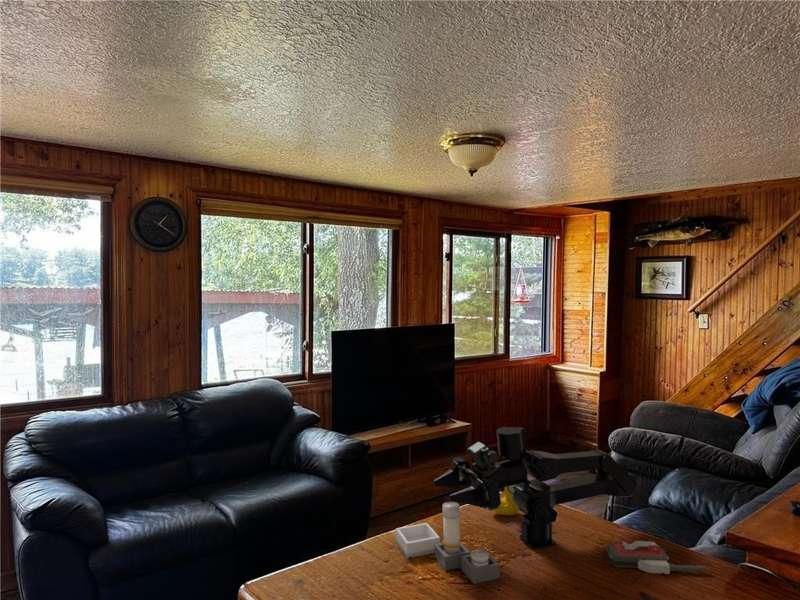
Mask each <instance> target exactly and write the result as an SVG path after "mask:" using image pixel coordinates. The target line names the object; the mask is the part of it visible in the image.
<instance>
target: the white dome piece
mask: <svg viewBox="0 0 800 600" xmlns="http://www.w3.org/2000/svg"><path fill="white" fill-rule="evenodd" d="M470 554H471V560H472V565H473V566H474V567H475V568H476V567H481V566H485V565H488V561H489V555H490V554H489V552H488V551H486V550H485V549H480V548H479V549H473V550H472V551H470Z"/></svg>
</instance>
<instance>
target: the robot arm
mask: <svg viewBox="0 0 800 600" xmlns="http://www.w3.org/2000/svg"><path fill="white" fill-rule="evenodd" d="M526 433H527V432H526V428H523V427H521V426H519V427H513V426H510V427H509V426H507V427H506V426H502V427H499V428H497V429H496V438H497V449H498V453H497V452H496V451H494V450H490V448H488V447H487V446H486V445H485V444H484V443H482V442H480V441H477V442H476V443H474V444H473V445H471V446H470V447H468V448H467V452H468V453H469V454H470V456H471V459H472V460H473V462H472V463H471V464H470V462H469V461H467V460H466V459H464V458H463V457H461V456H457V457H453V458H452V461H451V467H450V469H448V471H446V472H445V473H443V474H442V475H440V476H439V477H437V478H435V479H434V480H433V481H432V485H433V486H435V487H442V488H455V489H460V490H459V491H457V492H454V493H451V494H449V499H448V500H449V501H450V502H456V503H461V504H465V505H469V506H474V507H478V508H482V509H483V510H486V509H487V510H489V511H490V512H491V511H492V510H495V509H498V507H499V506H500V504H501V501H500V498H501V493H502V492H503V491H505V490H504V487H508V486H512V485H516V484H517V488H516V489H515V491H514V493H513V500H514V502H515V504H516V505H517V506H518V507H519V512H522V514H523V515H522V522H521V524H520V529H521V531H520V532H521V533H520V534H519V539H520V540H522V541H523V542H524V543H525V544H526V545H528V546H529V547H530V548H531V549H533V550H536V549H540V548H546V547H549V546H556V545H557V542H556V541H555V540H554V539H553V523H554V522H556V521H557V516H558V512H557V511H556V510H555V509H554V508H555V506H558V505H563V504H566V503H567V504H568V503H571V502H576V501H580V500H585V499H591V498H594V497H599V496H603V495H606V496H611V497H616V498H625V497H626V498H627V497H631V496H634V494H635V492H636V491H637V486H638V482H637V478H636V477H635V476H634V474H632V473H630V472H628V471H627V470H626V469H624V468H623V467H622V465H620V464H619V463H618V462H617V461H616V460H615V459H614V458H613V457H612V456H611V455H610V454H609V453H606V452H605V451H603V450H600V449H594V450H590V451H580V452H579V451H578V452H576V451H575V452H568V453H566V452H565V453H556V454H555V453H551V452H546V451H541V450H533V449H531V450H528V449H527V442H526V441H527V440H526V436H527V435H526ZM500 456H501V457H503V459H504V460H503V461H499V460H500ZM498 461H499V462H498ZM471 467H472V470H471ZM585 471H586V472H587V471H596V475H593V476H590V477H589V476H587V477H583V478H579V479H574V480H568V481H563V482H559V483H554V484H548V483H547V481H551V480H554V479H557V477H558V476H560V475H561V474H567V473H568V474H569V473H577V472H585ZM528 476H531V477H533V478H534V479H531V480H530V479H529V478H528ZM545 482H546V483H545ZM470 484H471V485H470ZM461 487H464V489H461ZM465 487H466V488H465Z"/></svg>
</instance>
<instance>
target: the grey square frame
mask: <svg viewBox="0 0 800 600" xmlns="http://www.w3.org/2000/svg"><path fill="white" fill-rule="evenodd" d="M434 552H435V553H434V559H435V558H436V559H437V560H436V559H435V560H436V562H438V564H439V563H440V564H439V565H440V566H441V567H442V568H443V570H444V571H449V570H455V569H459V568H461V556H465V555H470V554H471V551H469V550H468V548H467V547H466V546H465V545H464V544H463V543H462V542H461V541H460V553H455V554H450V555H446V554H445V553H444V542H442V543H441V542H440V544H435V545H434Z"/></svg>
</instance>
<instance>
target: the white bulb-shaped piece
mask: <svg viewBox="0 0 800 600" xmlns="http://www.w3.org/2000/svg"><path fill="white" fill-rule="evenodd" d="M460 510H461V509H460V504H459V502H455V501H446V502H444V503H442V518H443V520H442V521H443V524H442V525H443V526H442V527H443V543H444V553H445V554H446V555H450V554H455V553H460V542H461V539H460V535H461V534H460V514H461V513H460Z"/></svg>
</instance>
